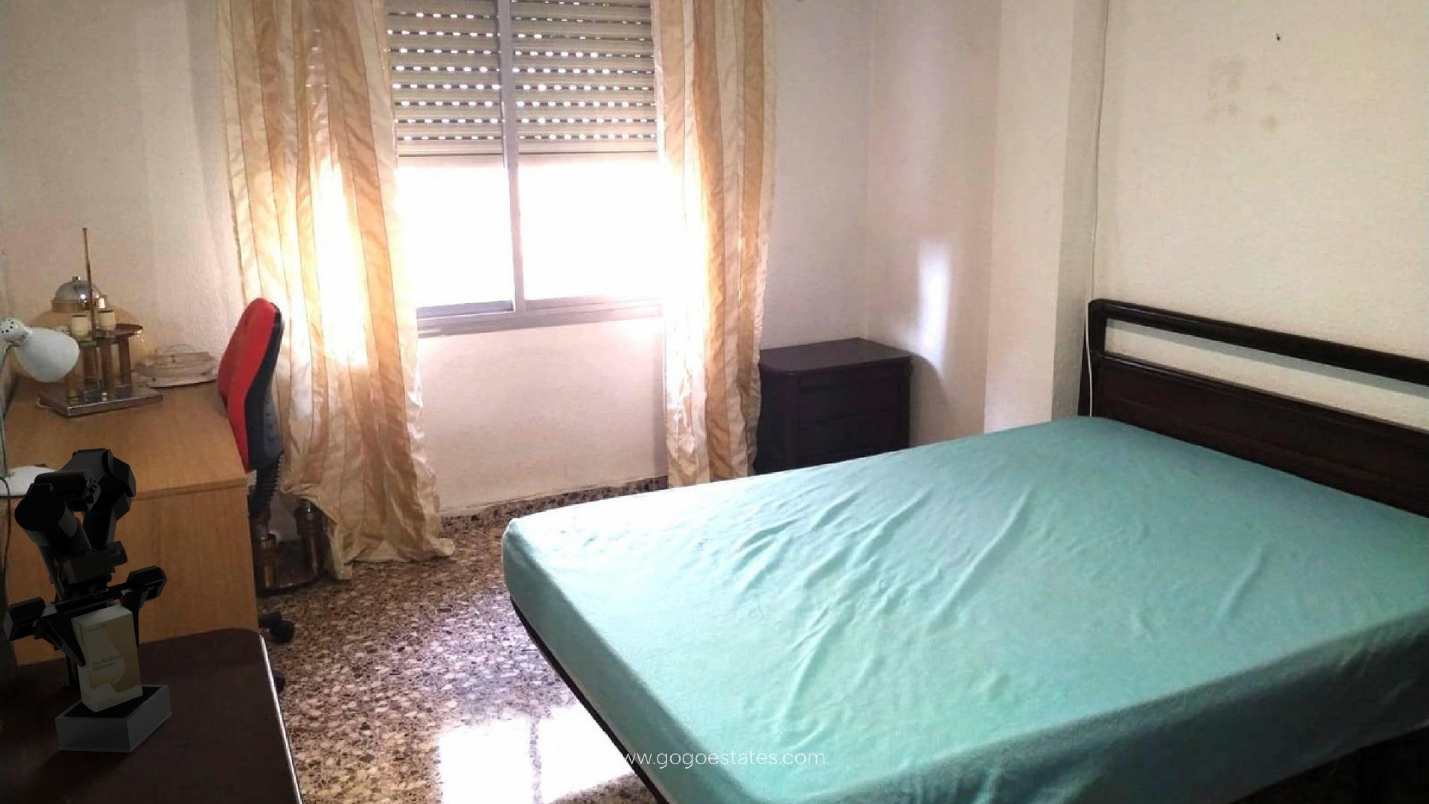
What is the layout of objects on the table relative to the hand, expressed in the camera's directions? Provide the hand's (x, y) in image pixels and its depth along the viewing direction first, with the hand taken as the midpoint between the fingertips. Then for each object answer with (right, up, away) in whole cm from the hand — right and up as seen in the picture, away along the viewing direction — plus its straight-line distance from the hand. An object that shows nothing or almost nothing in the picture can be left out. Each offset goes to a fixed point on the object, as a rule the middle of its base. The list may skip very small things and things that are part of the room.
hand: (110, 656), depth 140 cm
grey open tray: (-1, -11, +3) cm, 11 cm away
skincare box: (-1, -6, +3) cm, 7 cm away
